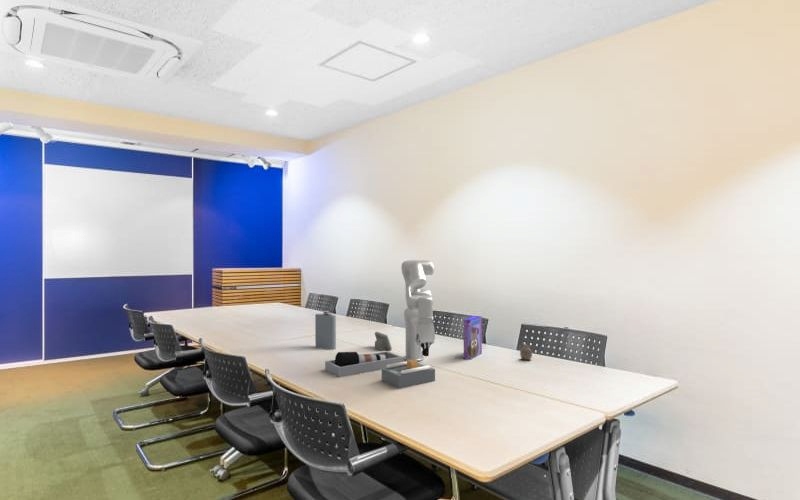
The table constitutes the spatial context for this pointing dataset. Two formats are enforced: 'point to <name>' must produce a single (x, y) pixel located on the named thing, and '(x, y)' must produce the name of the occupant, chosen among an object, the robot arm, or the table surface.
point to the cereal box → (472, 337)
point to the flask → (325, 330)
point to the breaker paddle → (412, 364)
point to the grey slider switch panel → (407, 376)
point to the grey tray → (362, 365)
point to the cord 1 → (396, 365)
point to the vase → (526, 353)
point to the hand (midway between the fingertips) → (425, 355)
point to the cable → (355, 358)
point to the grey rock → (382, 342)
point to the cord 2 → (415, 369)
